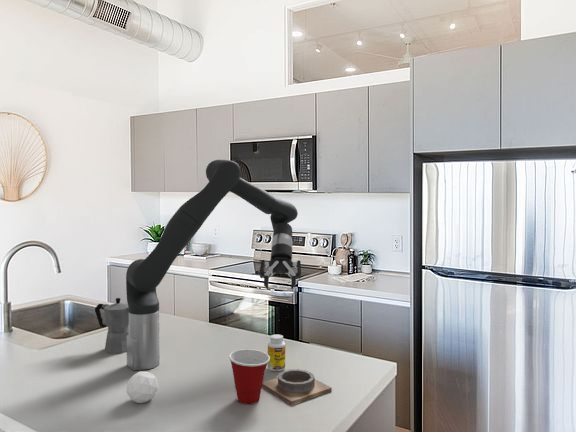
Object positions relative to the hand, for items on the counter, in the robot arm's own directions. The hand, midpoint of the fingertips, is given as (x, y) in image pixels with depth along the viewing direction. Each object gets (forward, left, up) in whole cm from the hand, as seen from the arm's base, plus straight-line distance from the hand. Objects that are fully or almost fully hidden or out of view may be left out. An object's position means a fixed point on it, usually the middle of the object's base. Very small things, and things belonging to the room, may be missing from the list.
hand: (279, 287), depth 151 cm
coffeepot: (-43, +38, -23) cm, 62 cm away
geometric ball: (-49, -6, -23) cm, 54 cm away
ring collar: (-12, -24, -23) cm, 35 cm away
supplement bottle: (-8, -9, -23) cm, 26 cm away
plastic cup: (-26, -22, -23) cm, 41 cm away
